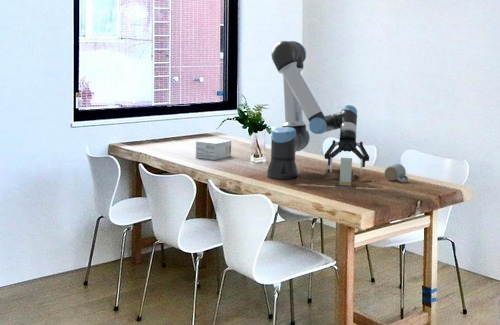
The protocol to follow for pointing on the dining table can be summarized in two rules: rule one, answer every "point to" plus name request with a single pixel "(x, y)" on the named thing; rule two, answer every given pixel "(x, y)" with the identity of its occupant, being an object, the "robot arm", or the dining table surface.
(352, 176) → the crate
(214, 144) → the supplement box
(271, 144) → the robot arm
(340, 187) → the coaster
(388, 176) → the ceramic mug
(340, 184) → the block
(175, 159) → the dining table surface
